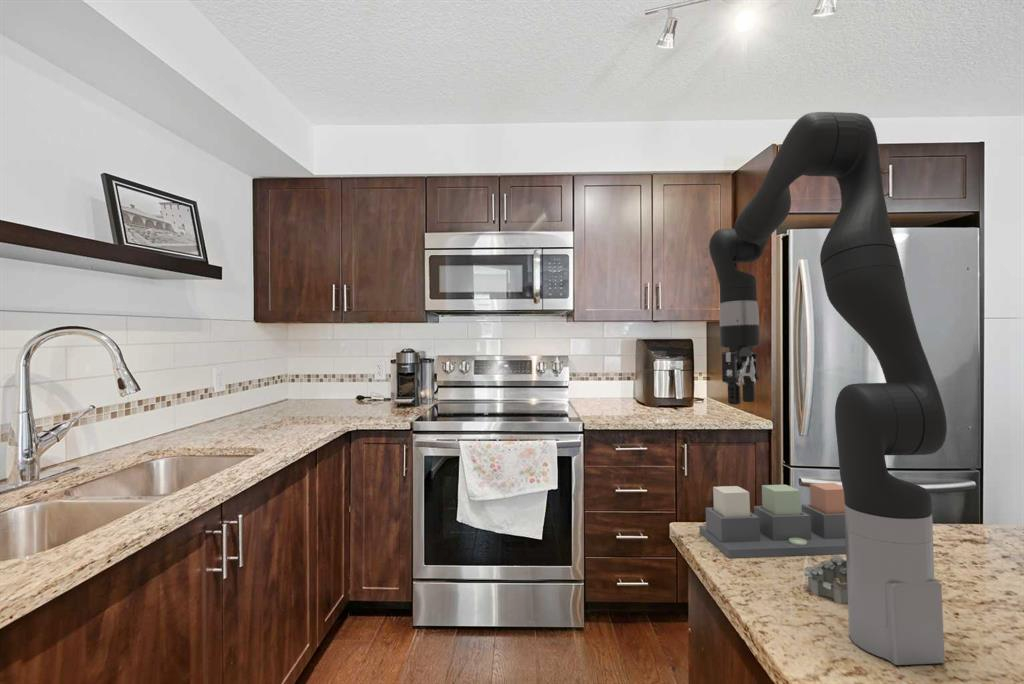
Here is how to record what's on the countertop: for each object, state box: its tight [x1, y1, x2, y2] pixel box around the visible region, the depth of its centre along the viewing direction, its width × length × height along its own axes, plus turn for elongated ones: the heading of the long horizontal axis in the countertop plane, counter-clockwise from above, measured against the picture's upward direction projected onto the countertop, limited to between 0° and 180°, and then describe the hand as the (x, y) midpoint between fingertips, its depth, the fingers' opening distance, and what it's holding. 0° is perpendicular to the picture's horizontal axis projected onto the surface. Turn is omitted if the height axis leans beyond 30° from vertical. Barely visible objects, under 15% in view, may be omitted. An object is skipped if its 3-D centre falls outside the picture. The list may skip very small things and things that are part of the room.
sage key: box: [761, 484, 802, 516], centre depth 106 cm, size 5×5×6 cm
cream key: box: [712, 485, 751, 517], centre depth 106 cm, size 5×5×6 cm
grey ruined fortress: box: [803, 554, 848, 605], centre depth 84 cm, size 11×8×4 cm
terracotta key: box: [809, 482, 845, 514], centre depth 107 cm, size 5×5×6 cm
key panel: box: [698, 503, 846, 559], centre depth 106 cm, size 14×28×6 cm, turn 92°
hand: (742, 403), depth 110 cm, fingers open, 8 cm apart
